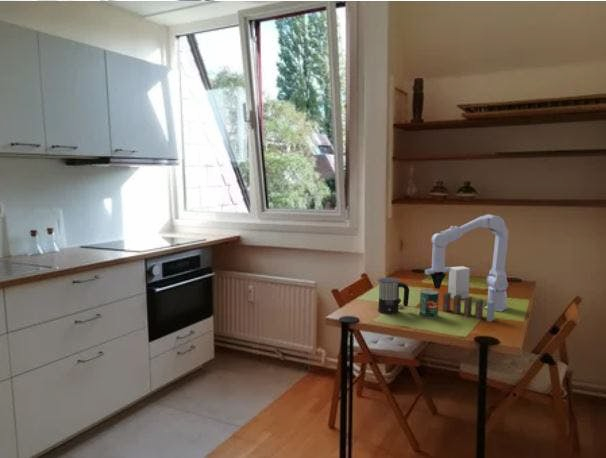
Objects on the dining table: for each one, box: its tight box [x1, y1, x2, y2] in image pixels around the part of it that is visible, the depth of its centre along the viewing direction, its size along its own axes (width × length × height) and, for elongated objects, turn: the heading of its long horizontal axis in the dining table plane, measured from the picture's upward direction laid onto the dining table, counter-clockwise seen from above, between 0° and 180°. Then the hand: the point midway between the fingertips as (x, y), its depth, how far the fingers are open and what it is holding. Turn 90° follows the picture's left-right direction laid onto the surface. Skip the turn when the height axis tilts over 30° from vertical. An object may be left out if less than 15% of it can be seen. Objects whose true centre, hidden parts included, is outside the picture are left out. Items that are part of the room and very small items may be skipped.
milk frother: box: [377, 277, 410, 315], centre depth 209 cm, size 14×16×15 cm
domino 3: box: [463, 296, 473, 317], centre depth 201 cm, size 4×2×8 cm, turn 136°
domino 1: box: [442, 291, 452, 313], centre depth 208 cm, size 4×2×8 cm, turn 136°
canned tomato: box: [418, 288, 440, 319], centre depth 200 cm, size 8×8×11 cm
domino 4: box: [474, 298, 484, 320], centre depth 197 cm, size 4×2×8 cm, turn 136°
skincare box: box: [447, 265, 471, 300], centre depth 229 cm, size 8×7×16 cm
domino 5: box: [486, 301, 495, 323], centre depth 194 cm, size 4×2×8 cm, turn 137°
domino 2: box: [452, 295, 462, 315], centre depth 204 cm, size 4×2×8 cm, turn 136°
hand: (437, 288), depth 210 cm, fingers closed
